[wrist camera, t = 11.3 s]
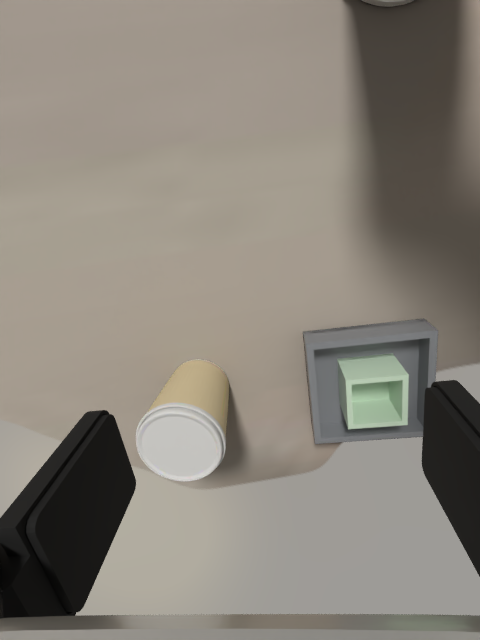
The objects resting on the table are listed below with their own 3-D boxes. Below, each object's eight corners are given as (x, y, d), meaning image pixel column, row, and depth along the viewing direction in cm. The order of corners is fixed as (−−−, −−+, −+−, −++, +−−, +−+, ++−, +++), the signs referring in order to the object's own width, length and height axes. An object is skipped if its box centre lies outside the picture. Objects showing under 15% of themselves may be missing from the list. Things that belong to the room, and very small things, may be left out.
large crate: (302, 331, 42) (305, 344, 38) (424, 318, 40) (438, 330, 36) (312, 425, 46) (315, 443, 43) (420, 417, 45) (432, 436, 41)
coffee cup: (165, 409, 47) (134, 477, 36) (166, 349, 44) (131, 404, 33) (232, 417, 47) (221, 489, 36) (238, 357, 44) (228, 416, 32)
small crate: (337, 358, 42) (345, 380, 37) (392, 353, 41) (408, 374, 36) (339, 403, 44) (348, 429, 39) (392, 399, 43) (407, 425, 38)
